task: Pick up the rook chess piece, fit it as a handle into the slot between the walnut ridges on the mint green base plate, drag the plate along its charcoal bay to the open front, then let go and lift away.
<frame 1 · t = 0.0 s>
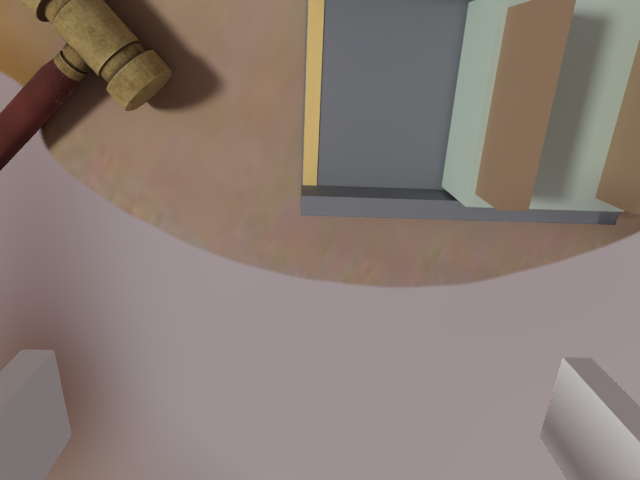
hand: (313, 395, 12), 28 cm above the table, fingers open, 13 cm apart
mint green base plate: (561, 109, 31), point 6 cm above the table, slide at 0.0 cm
gavel: (44, 108, 36), on the table
bay: (462, 100, 36), on the table
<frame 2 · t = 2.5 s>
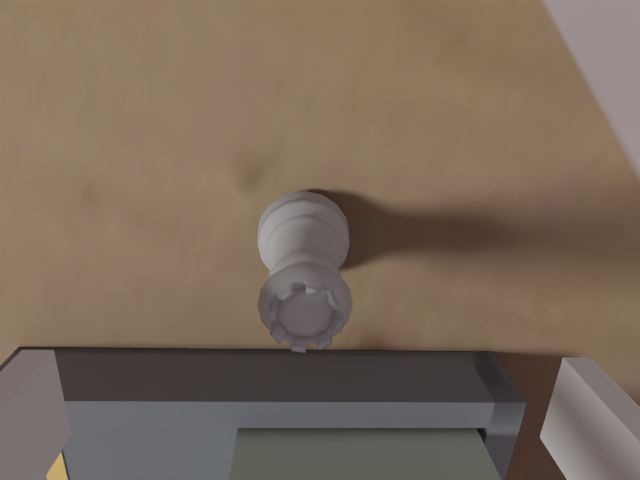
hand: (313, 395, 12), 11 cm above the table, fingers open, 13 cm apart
bay: (263, 468, 28), on the table
rook chess piece: (303, 230, 22), on the table
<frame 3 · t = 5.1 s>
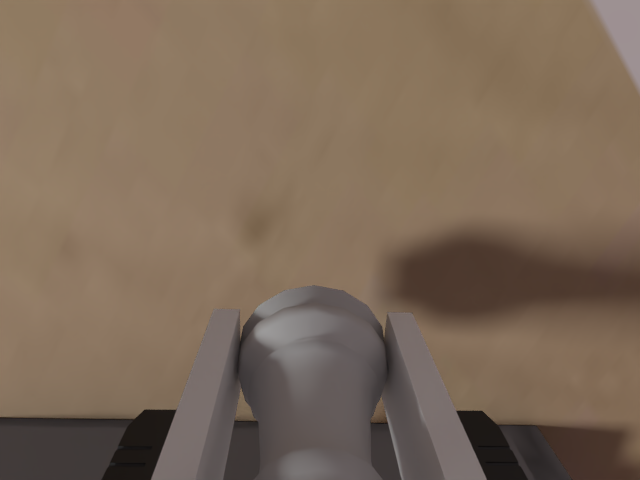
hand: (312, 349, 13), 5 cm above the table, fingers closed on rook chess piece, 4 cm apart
rook chess piece: (312, 338, 14), point 5 cm above the table, touching gripper
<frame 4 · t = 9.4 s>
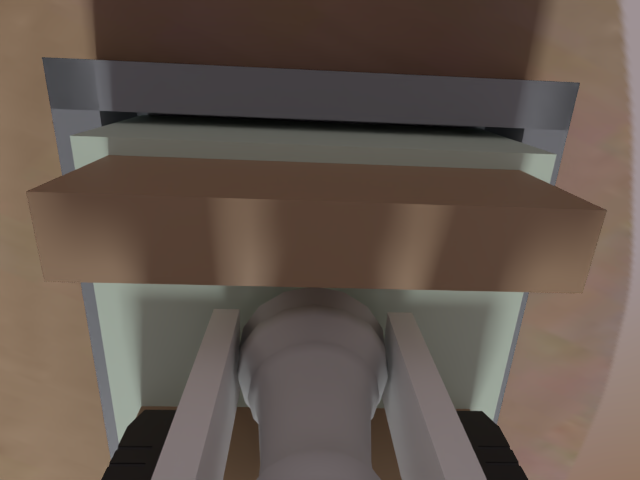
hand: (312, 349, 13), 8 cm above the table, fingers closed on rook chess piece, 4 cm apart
mint green base plate: (311, 310, 16), point 6 cm above the table, slide at 0.0 cm
bay: (305, 334, 23), on the table
rook chess piece: (312, 339, 14), point 8 cm above the table, touching gripper
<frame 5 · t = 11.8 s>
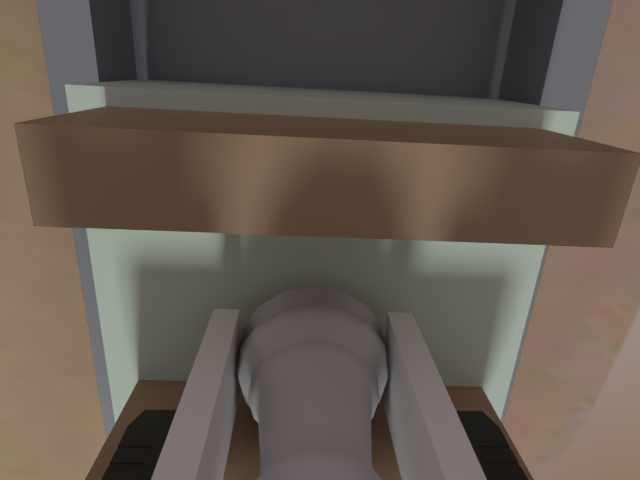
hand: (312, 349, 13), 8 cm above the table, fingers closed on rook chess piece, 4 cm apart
mint green base plate: (317, 280, 15), point 6 cm above the table, slide at 7.0 cm, touching rook chess piece
bay: (316, 182, 20), on the table
rook chess piece: (312, 339, 14), point 8 cm above the table, touching mint green base plate, gripper
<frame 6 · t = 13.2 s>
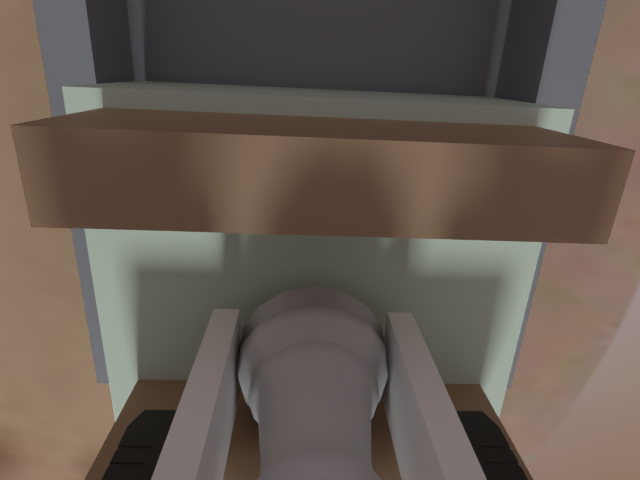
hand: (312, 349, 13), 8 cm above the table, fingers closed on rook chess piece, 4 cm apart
mint green base plate: (315, 279, 15), point 6 cm above the table, slide at 11.8 cm
bay: (318, 66, 18), on the table
rook chess piece: (312, 338, 14), point 8 cm above the table, touching gripper
when the fingers open (8 cm above the table, at t = 14.1 s): rook chess piece stays where it is, resting on mint green base plate.
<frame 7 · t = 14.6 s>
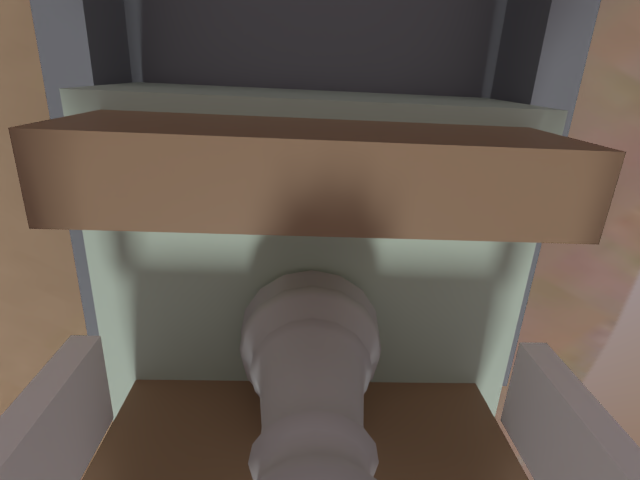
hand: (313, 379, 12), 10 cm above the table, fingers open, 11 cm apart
mint green base plate: (312, 279, 15), point 6 cm above the table, slide at 11.9 cm, touching rook chess piece
bay: (315, 65, 18), on the table
rook chess piece: (310, 321, 15), point 7 cm above the table, touching mint green base plate
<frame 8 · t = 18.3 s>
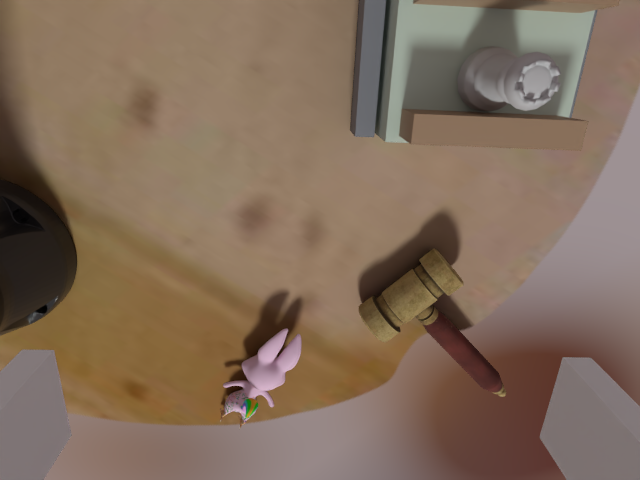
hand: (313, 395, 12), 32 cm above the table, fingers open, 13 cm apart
mint green base plate: (483, 62, 33), point 6 cm above the table, slide at 11.9 cm, touching rook chess piece
gavel: (448, 332, 49), on the table
rook chess piece: (483, 79, 33), point 7 cm above the table, touching mint green base plate
rabbit figure: (261, 366, 50), on the table
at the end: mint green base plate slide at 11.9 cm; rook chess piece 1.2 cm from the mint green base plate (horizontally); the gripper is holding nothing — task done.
